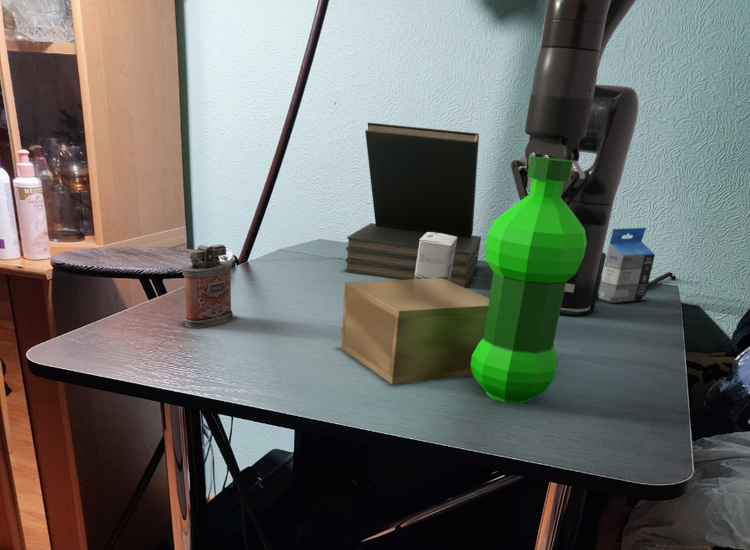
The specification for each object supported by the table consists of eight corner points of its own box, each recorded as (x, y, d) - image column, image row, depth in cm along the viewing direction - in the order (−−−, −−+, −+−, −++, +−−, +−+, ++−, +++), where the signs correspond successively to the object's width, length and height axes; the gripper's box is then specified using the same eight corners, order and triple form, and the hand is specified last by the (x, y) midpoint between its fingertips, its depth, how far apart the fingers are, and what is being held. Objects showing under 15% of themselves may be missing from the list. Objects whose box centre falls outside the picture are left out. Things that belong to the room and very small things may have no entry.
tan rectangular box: (434, 340, 100) (442, 278, 96) (492, 373, 90) (504, 304, 86) (340, 348, 94) (344, 281, 90) (391, 384, 84) (399, 310, 80)
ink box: (441, 326, 107) (451, 243, 101) (408, 322, 108) (416, 239, 102) (447, 312, 114) (458, 234, 109) (416, 308, 115) (425, 230, 109)
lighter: (197, 329, 96) (194, 251, 91) (179, 323, 98) (175, 247, 93) (238, 318, 102) (237, 245, 97) (220, 313, 104) (218, 240, 99)
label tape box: (612, 304, 129) (630, 232, 123) (595, 298, 132) (611, 228, 126) (644, 300, 134) (663, 231, 128) (627, 295, 137) (644, 227, 131)
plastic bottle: (571, 403, 83) (625, 166, 71) (506, 417, 78) (553, 163, 65) (510, 375, 90) (550, 155, 78) (446, 387, 84) (478, 151, 72)
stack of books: (476, 268, 148) (496, 132, 136) (465, 287, 131) (487, 134, 119) (368, 254, 152) (378, 120, 139) (344, 271, 135) (353, 121, 123)
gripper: (624, 98, 84) (591, 252, 93) (549, 93, 94) (526, 232, 103) (576, 94, 81) (547, 254, 89) (503, 89, 91) (484, 233, 99)
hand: (536, 242), depth 96 cm, fingers closed
